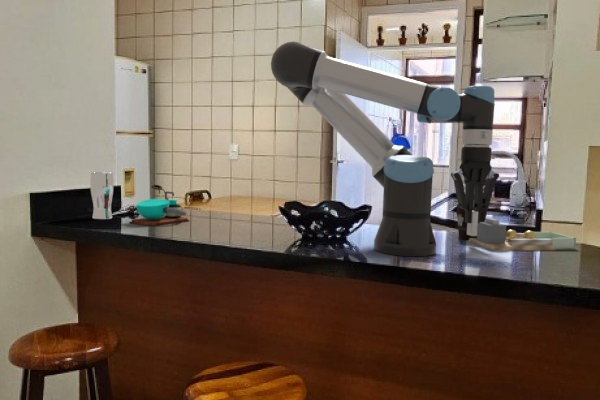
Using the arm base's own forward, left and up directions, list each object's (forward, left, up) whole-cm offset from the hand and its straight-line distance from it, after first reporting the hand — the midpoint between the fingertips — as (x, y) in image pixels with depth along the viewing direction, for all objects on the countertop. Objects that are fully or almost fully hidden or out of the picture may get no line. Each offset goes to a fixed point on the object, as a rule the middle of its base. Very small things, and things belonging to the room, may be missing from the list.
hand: (471, 235), depth 140 cm
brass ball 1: (+12, +1, 0) cm, 12 cm away
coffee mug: (+7, +13, -3) cm, 15 cm away
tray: (+24, 0, -3) cm, 24 cm away
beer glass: (-102, +51, -3) cm, 114 cm away
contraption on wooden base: (-83, +42, -4) cm, 93 cm away
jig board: (+12, 0, -3) cm, 12 cm away
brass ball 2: (+17, -1, 0) cm, 17 cm away
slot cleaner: (+6, 0, -2) cm, 6 cm away
